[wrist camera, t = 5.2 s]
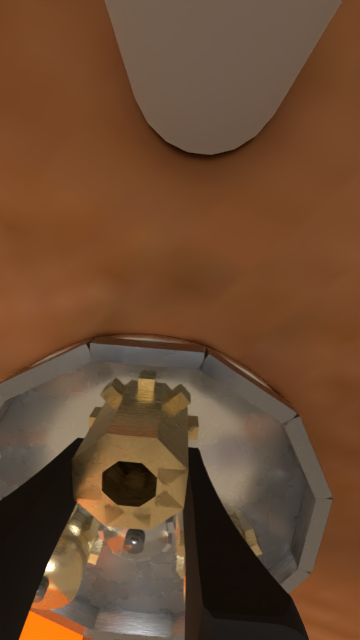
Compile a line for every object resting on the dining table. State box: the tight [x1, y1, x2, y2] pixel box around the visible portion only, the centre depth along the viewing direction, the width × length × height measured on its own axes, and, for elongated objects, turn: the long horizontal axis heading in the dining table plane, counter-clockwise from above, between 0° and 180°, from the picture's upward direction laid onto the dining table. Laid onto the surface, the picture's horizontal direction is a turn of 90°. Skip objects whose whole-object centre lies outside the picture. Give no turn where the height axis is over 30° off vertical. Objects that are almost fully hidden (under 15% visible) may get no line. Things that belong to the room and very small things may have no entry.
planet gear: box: [72, 370, 199, 530], centre depth 13 cm, size 6×6×5 cm
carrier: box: [0, 334, 333, 640], centre depth 15 cm, size 24×24×4 cm
